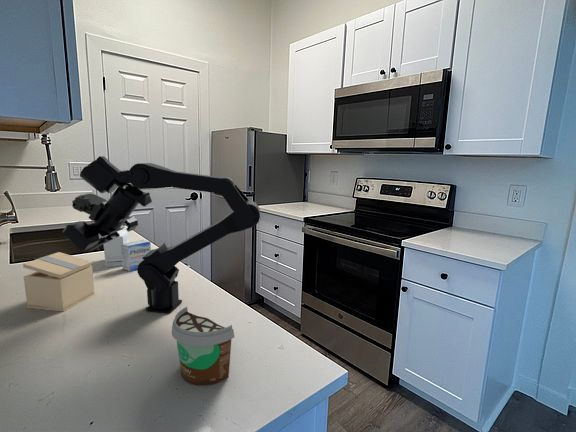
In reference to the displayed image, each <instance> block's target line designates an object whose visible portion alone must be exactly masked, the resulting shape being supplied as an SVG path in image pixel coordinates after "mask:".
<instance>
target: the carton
mask: <svg viewBox="0 0 576 432" xmlns="http://www.w3.org/2000/svg"><path fill="white" fill-rule="evenodd" d="M93 273H94V272H93V265H91V266H88V267H86V268H84V269H81V270H79V271H77V272H74V273H72V274H70V275H67V276H65V277H63V278H57V277H53V276H50V275H47V274H43V273H40V272H37V271H34V272H32V273H29V274H27V275H24V276H23V282H24V290H25V298H26V306H27V308H28V309H34V310H35V309H36V310H47V311H54V312H55V311H56V312H65V311H67V310H69V309H71V308H73V307H74V306H76V305H78V304H79V303H81V302H83V301H85V300H87V299H89V298H91V297H93V296H94V295H95V284H94V274H93Z"/></svg>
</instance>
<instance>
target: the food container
mask: <svg viewBox="0 0 576 432" xmlns="http://www.w3.org/2000/svg"><path fill="white" fill-rule="evenodd" d="M170 331H171V332H170V333H171V336H172V337H173V339H174V340H175V341H176V344H177V345H176V346H177V351H178V358H179V365H180V373H181V378H182V379H183V380H184V381H185V382H186V383H187V384H190V385H192V386H193V385H194V386H197V387H198V386H199V387H203V386H204V387H205V386H206V387H207V386H211V385H215V384H219V383H221V382H223V381H225V380H226V379H228V378H230V377H229V376H230V364H231V363H230V361H231V350H232V339H234V338H235V331H234V328H233V324H231V325H227V326H226V327H225V326H222V325H220V324H218V323H216V322H215V321H213V320H212V319H209V318H208V317H204V316H200V315H199V316H198V315H196V314H194V313H191V312H189V311H188V306H185V307H184V308H182V309H180V310H179V311H178V312H176V314H175V316H174V318H173V321H172V325H171V330H170Z"/></svg>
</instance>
